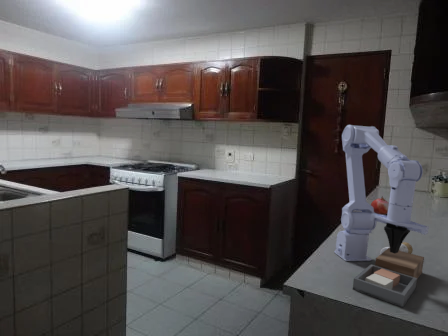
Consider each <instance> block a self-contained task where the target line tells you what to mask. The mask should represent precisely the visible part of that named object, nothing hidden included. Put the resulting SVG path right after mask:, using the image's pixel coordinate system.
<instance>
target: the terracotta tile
mask: <svg viewBox="0 0 448 336" xmlns="http://www.w3.org/2000/svg"><path fill="white" fill-rule="evenodd" d="M374 273H375V274H378V275H380V276H383V277H386V278H388V279H391V280H393V287H394V286H396V285H398V284H399V280H400V275H399V274H396V273H393V272H390V271H387V270H385V269H380V270H378V271H376V272H374ZM393 287H392V288H393Z"/></svg>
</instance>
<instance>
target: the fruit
mask: <svg viewBox="0 0 448 336" xmlns="http://www.w3.org/2000/svg"><path fill="white" fill-rule="evenodd" d="M370 205H371V206H372V207H373V208H374V213H376V214H380V215H386V214H388V206H389V201H387V200H386V198H384V197H383V195H381V198H380V197H379V198H376V199H374V200H373V201H371V203H370Z"/></svg>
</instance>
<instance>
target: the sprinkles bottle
mask: <svg viewBox="0 0 448 336" xmlns="http://www.w3.org/2000/svg"><path fill="white" fill-rule="evenodd" d="M388 248H390V246H385V247H383V248H381V249H380V252H379V253H380V254H379V255H381V254H382V253H383V252H384V251H386V250H387V249H388ZM413 249H414V248H413V246H412V244H410V243H409V242H406V241H403V242H402V244H401V246H400V248H399V251H403V252H406V253H410V254H413V251H414V250H413Z"/></svg>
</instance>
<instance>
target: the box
mask: <svg viewBox="0 0 448 336" xmlns="http://www.w3.org/2000/svg"><path fill="white" fill-rule="evenodd" d="M380 269H385V268H382V267H378V266H375V264H369V265H368V266H367V267H366V268H364V270H362V271H361V272H360V273H359V274H357V275H356V276H355V277H353V283H352V284H353V285H352V290H353V291H355V292H359V293H362V294H364V295H368V296H369V297H373V298H376V299H379V300H381V301H383V302H387V303H389V304H392V305H394V306H396V307H400V308H403V307H404V306H405V305H406V303H407V302H408V301H409V299H410V297H411V296H412V295H413V293H414V292H415V290H416V287H417V281H418V279H417V278H415V277H411V276H408V275H405V274H401V273H398V272H395V271H392V270H388V269H385V270H387V271H390V272H393V273H396V274H399V275H400V280H399V284H398V285H396V286H394V287H393V288H392V290H390V289H387V288H384V287H381V286H379V285H376V284H373V283H370V282H367V281H365V280H366V277H368V276H370V275H372V274H374V272H376V271H378V270H380Z"/></svg>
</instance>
